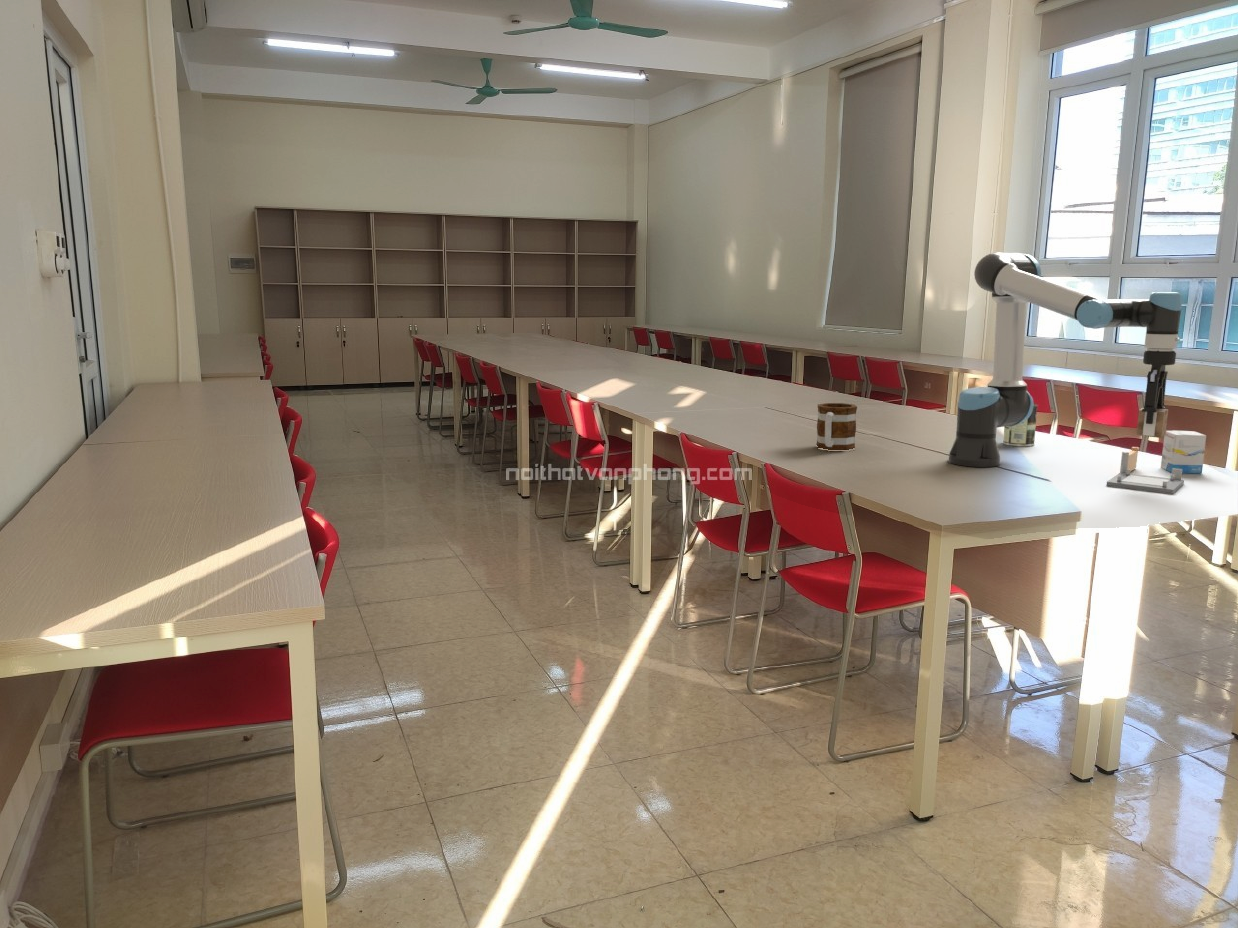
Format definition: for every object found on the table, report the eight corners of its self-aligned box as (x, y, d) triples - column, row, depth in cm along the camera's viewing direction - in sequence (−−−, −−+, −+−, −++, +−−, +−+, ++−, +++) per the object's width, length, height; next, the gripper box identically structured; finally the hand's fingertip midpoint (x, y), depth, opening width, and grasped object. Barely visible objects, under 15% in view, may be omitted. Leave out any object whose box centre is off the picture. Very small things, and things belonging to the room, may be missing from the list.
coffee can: (1026, 441, 319) (1029, 402, 317) (1039, 446, 309) (1043, 406, 307) (997, 441, 320) (1000, 402, 317) (1009, 446, 309) (1012, 406, 307)
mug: (820, 444, 317) (822, 402, 314) (859, 446, 311) (861, 404, 308) (806, 453, 300) (808, 409, 297) (847, 456, 294) (849, 411, 291)
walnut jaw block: (1136, 435, 246) (1138, 409, 245) (1140, 432, 251) (1143, 407, 250) (1161, 437, 243) (1164, 411, 241) (1165, 434, 247) (1168, 409, 246)
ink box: (1202, 474, 264) (1207, 435, 261) (1170, 473, 265) (1175, 434, 263) (1190, 468, 272) (1195, 430, 270) (1159, 467, 274) (1164, 429, 271)
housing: (1104, 485, 249) (1107, 461, 248) (1120, 474, 263) (1122, 451, 261) (1172, 494, 238) (1175, 468, 237) (1185, 482, 252) (1188, 458, 251)
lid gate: (1127, 474, 262) (1130, 453, 261) (1120, 473, 263) (1123, 452, 262) (1137, 467, 271) (1139, 447, 270) (1130, 467, 272) (1132, 446, 271)
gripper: (1169, 352, 233) (1159, 439, 237) (1182, 348, 247) (1173, 431, 251) (1137, 351, 238) (1127, 437, 242) (1151, 347, 252) (1143, 428, 256)
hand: (1151, 433), depth 247 cm, fingers closed on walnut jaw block, 6 cm apart
